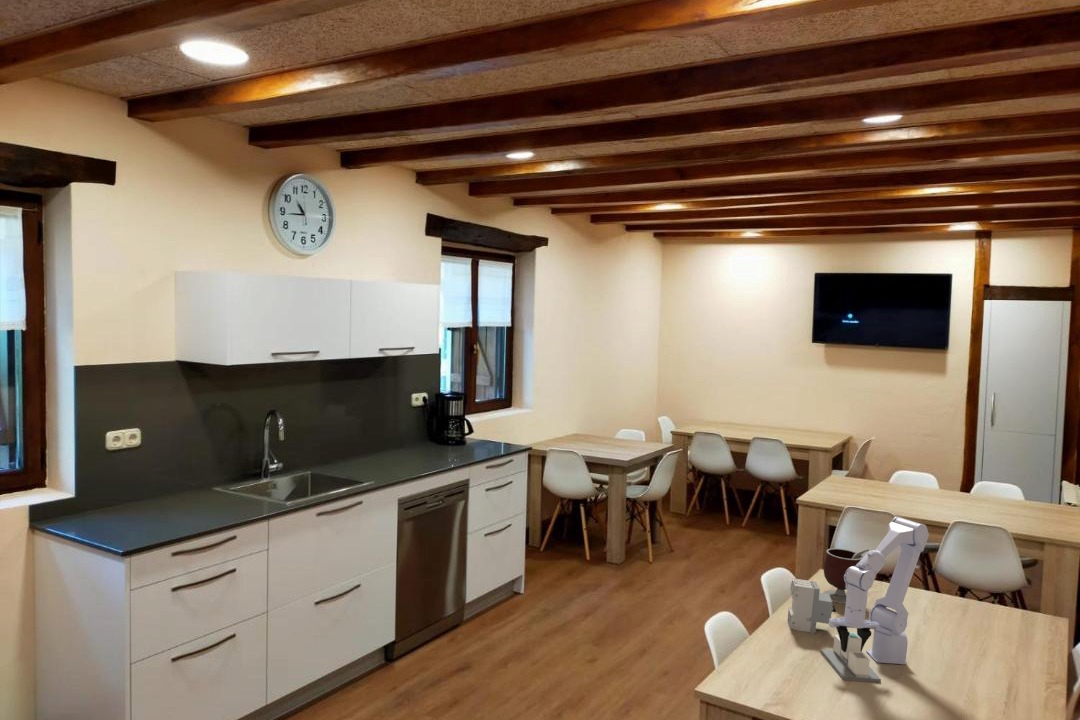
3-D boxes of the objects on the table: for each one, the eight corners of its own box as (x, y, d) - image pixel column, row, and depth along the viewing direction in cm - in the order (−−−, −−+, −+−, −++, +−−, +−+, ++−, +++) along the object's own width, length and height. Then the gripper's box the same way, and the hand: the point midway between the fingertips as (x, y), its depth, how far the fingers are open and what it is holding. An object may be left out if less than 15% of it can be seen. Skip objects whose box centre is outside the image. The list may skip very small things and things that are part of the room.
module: (853, 653, 237) (855, 632, 237) (859, 659, 233) (861, 638, 233) (840, 652, 237) (842, 631, 237) (846, 659, 233) (848, 637, 233)
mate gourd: (824, 602, 289) (829, 549, 287) (817, 589, 302) (822, 538, 301) (868, 607, 286) (873, 554, 285) (859, 594, 300) (864, 543, 298)
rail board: (855, 654, 244) (857, 635, 244) (880, 682, 226) (882, 661, 226) (820, 652, 244) (822, 632, 244) (843, 679, 226) (845, 658, 226)
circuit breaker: (834, 635, 258) (839, 591, 257) (789, 629, 261) (794, 585, 260) (830, 626, 265) (835, 584, 264) (787, 620, 268) (791, 578, 267)
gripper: (873, 603, 238) (869, 646, 239) (826, 600, 238) (822, 643, 239) (884, 612, 231) (879, 657, 232) (835, 609, 231) (831, 653, 232)
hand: (851, 651), depth 235 cm, fingers closed on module, 4 cm apart
